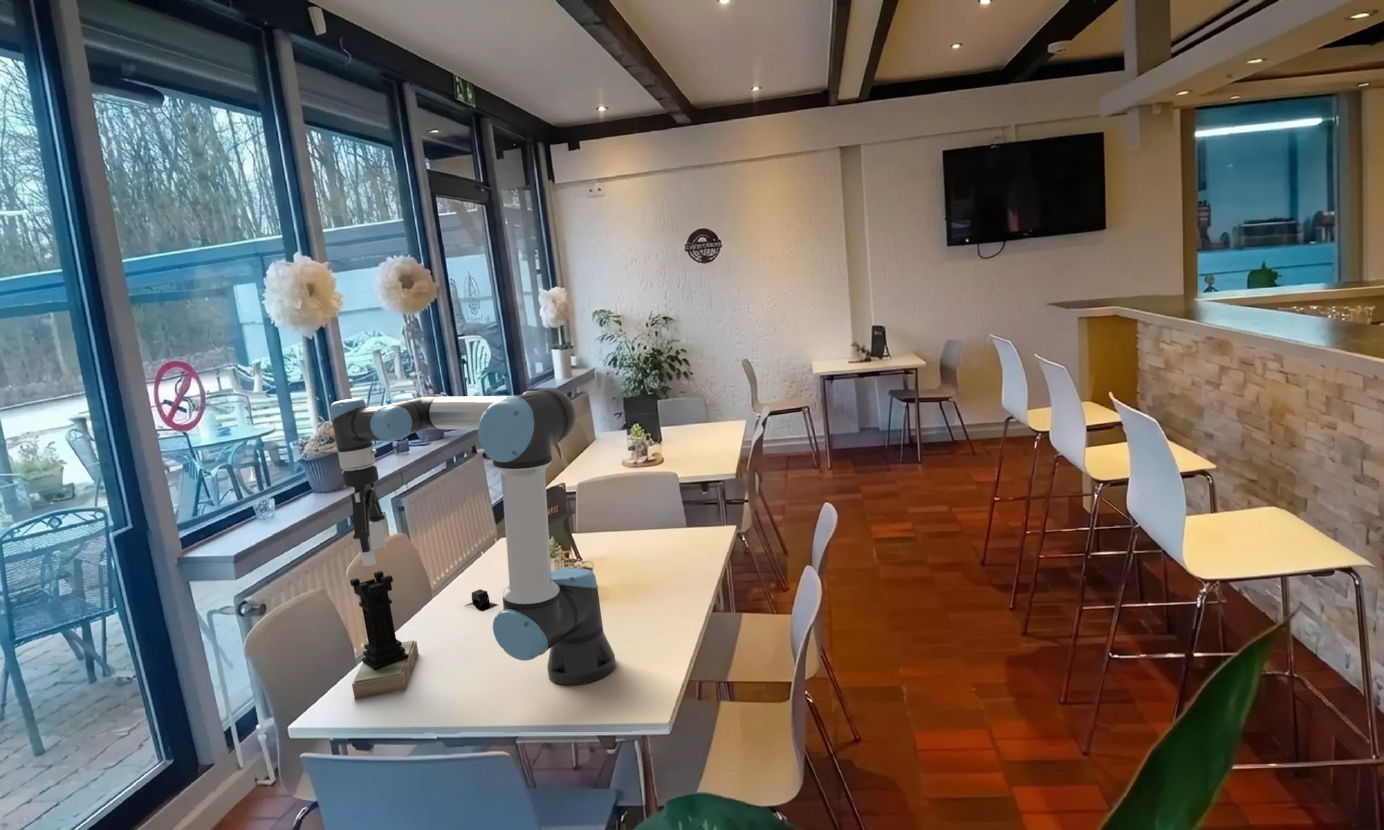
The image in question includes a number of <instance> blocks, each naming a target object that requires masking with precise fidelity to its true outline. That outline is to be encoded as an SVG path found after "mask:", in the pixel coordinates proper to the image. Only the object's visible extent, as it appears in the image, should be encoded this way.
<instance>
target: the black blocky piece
mask: <svg viewBox="0 0 1384 830" xmlns="http://www.w3.org/2000/svg"><path fill="white" fill-rule="evenodd" d="M497 606H499V604H498V603H495V602H491V601H490V597H489V594H488V591H487V590H483V589H477V590H474V591H472V592H471V602H470V603H468V604H466V605H465V604H464V607H466V608H469V609H473V610H476V611H479V612H485V611H487V610H490V609H492V608H494V607H497Z"/></svg>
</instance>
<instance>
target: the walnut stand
mask: <svg viewBox="0 0 1384 830" xmlns="http://www.w3.org/2000/svg"><path fill="white" fill-rule="evenodd" d="M400 642H401V643H402V647H403V648H405V653H406V654H408V656H409V658H407V659H405V660H402V661H399V662H397V663H394V664H392V665H389V666H386V667H384V668H381V669H378V670H376V671H375V670H373V669H372V668H371V667H369V666H368V665H366V664H365V663H364V662H362V664H361V666H360V668H359V669H358V671H357V674H356V676H355V678H354V679H353V681H352V683H351V687H352V692H353V696H354V700H361V699H366V698H371V697H375V696H376V697H377V696H381V695H388V694H393V693H399V692H405V691H406V690H407V688H408V685H409V682H410V679H411V677H412V674H413V671H414V668H415V665H416V663H417V661H418V657H419V648H418V642H417V640H415V639H414V640H407V641H400Z"/></svg>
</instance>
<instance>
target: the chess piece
mask: <svg viewBox="0 0 1384 830" xmlns="http://www.w3.org/2000/svg"><path fill="white" fill-rule="evenodd" d="M373 575H374V578H372V579H368V580H365V581H362V582H361V581H360V579H359V578H357V577H356V578H353V579H350V580H349V583H350V586H351V587H353V591H354V594H355V595H357V596H358V597H359V598H360V602H358V606H359V607H360V608H362V609H361V610H362V615H363V620H364V625H365V630H366V632H365V633H366V637H367V642H368V643H366V644H364V649H365V651H364V650H363V652H362V653H363V656H364V657H363V658H361V661H362V663H363V662H364V663H365V664H366V665H368V666H369V667H371V668H372V669H373V670H375V671H376V670H378V669H381V668H384V667H386V666H389V665H392V664H394V663H397V662H399V661H402V660H405V659H407V658H409V656H408V654H406V653H405V648H403V647H402V643H401V642H402V641H400V639H399V640H398V638H397V637H396V636H397V635H396V631H395V625H394V620H393V615H392V608H391V604H393V601H392V599H390V598H389V597H390V596H389V592H390V591H393V587H392V583H393V582H394V579H393V576H392V575H390V574H389V575H387V576H384V572H383V571H382V570H379V571H375V572H373Z"/></svg>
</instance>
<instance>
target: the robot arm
mask: <svg viewBox="0 0 1384 830" xmlns="http://www.w3.org/2000/svg"><path fill="white" fill-rule="evenodd" d="M576 413H577V411H576V408H575V405H574V403H573V401H572V399H571V398H569V396H568V395H567V394H566V393H564V392H562V391H560V390H559V389H555V388H544V389H543V388H542V389H538V390H527V391H525V392H523V393H522V394H517V395H484V396H483V395H478V396H475V395H472V396H471V395H469V396H464V395H463V396H459V395H458V396H444V395H443V394H436V393H435V394H426V395H423V396H421V397H417V398H413V399H409V400H404V401H400V402H395V403H391V404H386V405H382V406H371V407H367V405H366V401H365V400H364V398H362V397H361V398H359V397H358V398H356V397H354V398H350V399H342V400H341V399H340V400H338V401H333V403H331V405H330V415H331V421H330V422H331V424H332V429H333V433H334V439H335V444H336V449H337V455H338V461H339V466H340V469H342V471H341V476H342V477H341V478H342V481H343V485H344V487H347V488H354V493H351V495H350V499H351V503H352V516H353V530H354V531H353V532H354V533H353V536H352V538H353V540H357V543H358V547H359V553H360V557H361V562H362V563H361V564H362V567H368V566H374V565H376V564H377V560H376V555H375V550H379V549H386V548H387V543H386V537H385V532H384V526H383V521H382V520H385V519H386V517H385V515H384V514H383V513H384V512H383V511H382V507H381V504H380V501H379V498H378V494H377V491H376V488H375V483H376V482H378V481H379V473H378V467H377V465H376V464H375V463H376V457H375V454H377V450H376V449H374V444H373V442H392V441H398V440H399V441H400V440H403V439H405V438H406V437H407V436H408V435H411V434H414V433H418V432H422V431H427V430H473V431H476V430H477V435H478V436H477V437H478V441H479V445H480V447H481V449H483V450H484V454H485V455H486V456H487V457H488V458H490V460H492V466H493V468H495V469H496V470H497V471H499V472H500V474H501V484H502V485H501V487H502V498H503V500H502V501H503V515H504V527H505V540H506V541H505V542H506V555H507V568H508V569H507V570H508V572H507V573H508V583H509V584H508V585H507V586H506V587H505V588H504V589H503V591H502V605H503V607H502V608H503V609H502V610H500V611H499V612H498V613H497V614H496V616H495V617H494V619H493V622H492V631H493V635H494V638H495V640H496V643H498V645H499V647H500V648H501V649H503V651H504V653H506V654H507V655H508V656H510V657H512V658H513V659H516V660H519V661H525V662H526V661H531V660H534V659H536V658H537V657H538V656H542V655H544V654H545V653H546V652H547V651H549V655H548V660H547V669H546V670H547V675H548V678H549V680H550V681H551V682H553V683H556V684H558V685H562V686H563V685H564V686H579V685H585V684H589V683H592V682H596V681H598V680H601V679H603V678H605V677H606V676H608V675H610V674H611V673H613V671H614V670H615V668H616V665H617V662H616V655H615V653H614V650H613V649H612V646H611V645H610V641H608V639H607V637H606V634H605V632H604V625H603V620H602V611H601V604H600V603H601V602H600V597H599V596H600V595H599V589H598V588H599V586H598V584H597V583H598V582H597V578H596V574H595V573H594V572H593V571H592V570H590V569H587V568H580V567H579V568H577V567H576V568H570V567H569V568H561V569H555V570H552V564H551V549H550V531H549V517H548V516H549V515H548V499H547V483H546V482H547V481H546V469H547V468H548V467H549V466H550V465H551V464H552V463H553V453H552V446H554V445H556V444H558V443H561V442H562V441H564V440H565V439H567V438H568V436H570V434H571V433H572V431H573V429H574V427H575V424H576V421H577V420H576V419H577V414H576Z"/></svg>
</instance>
